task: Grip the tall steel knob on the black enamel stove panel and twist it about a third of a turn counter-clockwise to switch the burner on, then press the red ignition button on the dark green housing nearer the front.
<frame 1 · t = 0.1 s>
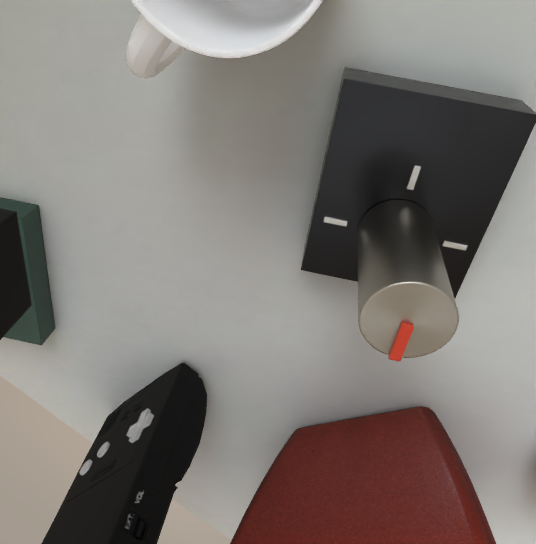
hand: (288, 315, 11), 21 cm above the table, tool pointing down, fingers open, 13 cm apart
handheld gaming console: (160, 396, 45), on the table
flower pot: (378, 458, 46), on the table
stove panel: (400, 182, 31), on the table
stove knob: (400, 273, 26), point 7 cm above the table, hinge at 0.0°
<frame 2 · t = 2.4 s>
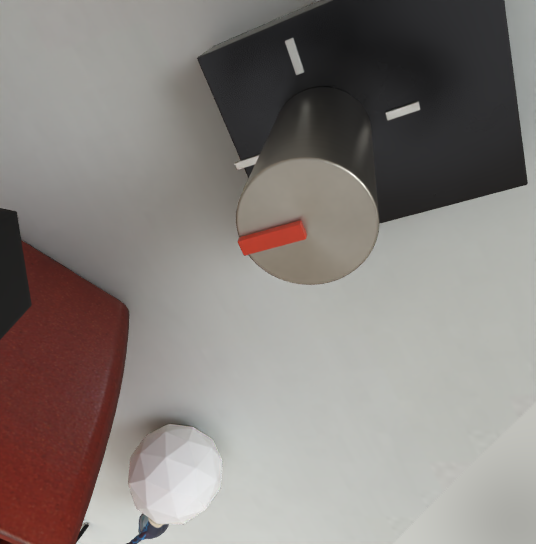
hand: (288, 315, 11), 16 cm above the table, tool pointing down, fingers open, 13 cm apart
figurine: (185, 449, 42), on the table
flower pot: (21, 309, 35), on the table
stove panel: (364, 104, 24), on the table
stove knob: (315, 175, 18), point 7 cm above the table, hinge at 0.0°
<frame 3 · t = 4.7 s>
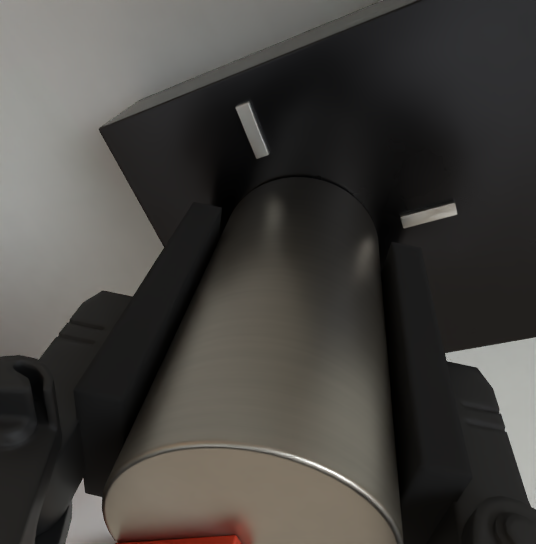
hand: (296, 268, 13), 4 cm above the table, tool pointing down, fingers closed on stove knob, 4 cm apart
stove panel: (366, 185, 16), on the table
stove knob: (281, 351, 10), point 7 cm above the table, hinge at -0.1°, touching gripper
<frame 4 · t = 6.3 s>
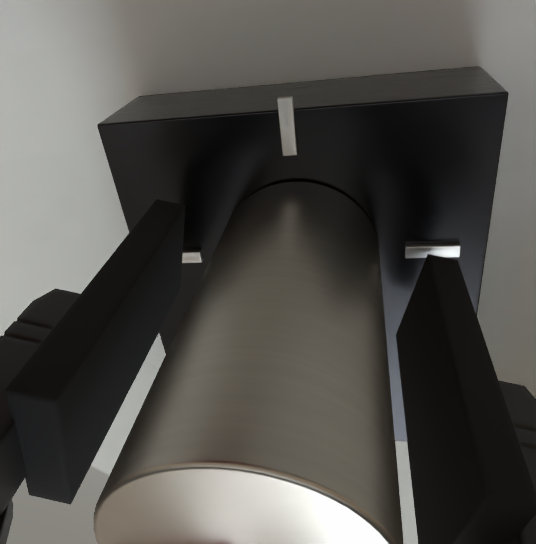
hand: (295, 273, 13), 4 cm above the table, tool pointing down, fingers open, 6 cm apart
stove panel: (311, 257, 17), on the table
stove knob: (280, 360, 10), point 7 cm above the table, hinge at 105.7°
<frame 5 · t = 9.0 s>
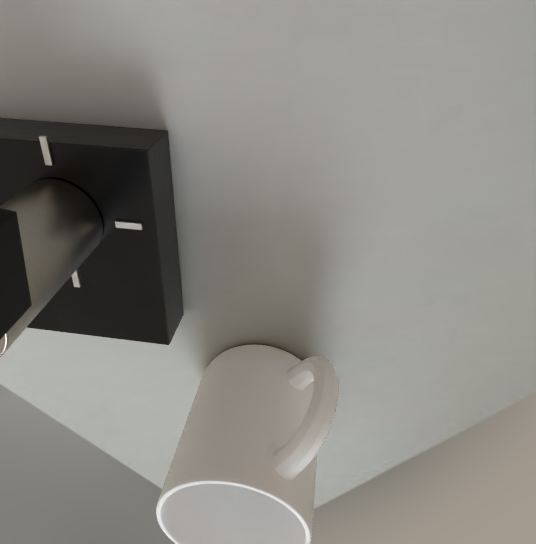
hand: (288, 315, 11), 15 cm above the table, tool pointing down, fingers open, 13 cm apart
mug: (279, 368, 33), on the table
stove panel: (94, 225, 29), on the table
stove knob: (13, 263, 22), point 7 cm above the table, hinge at 105.7°
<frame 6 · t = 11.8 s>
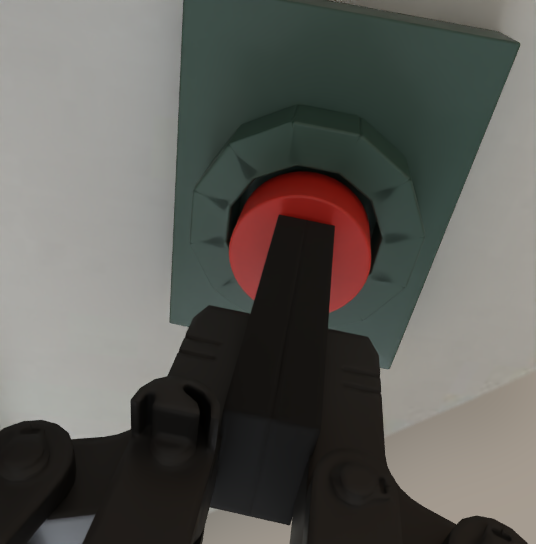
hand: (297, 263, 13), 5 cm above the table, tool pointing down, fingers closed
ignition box: (311, 187, 18), on the table
ignition button: (301, 246, 14), point 4 cm above the table, slide at -0.1 cm, touching gripper
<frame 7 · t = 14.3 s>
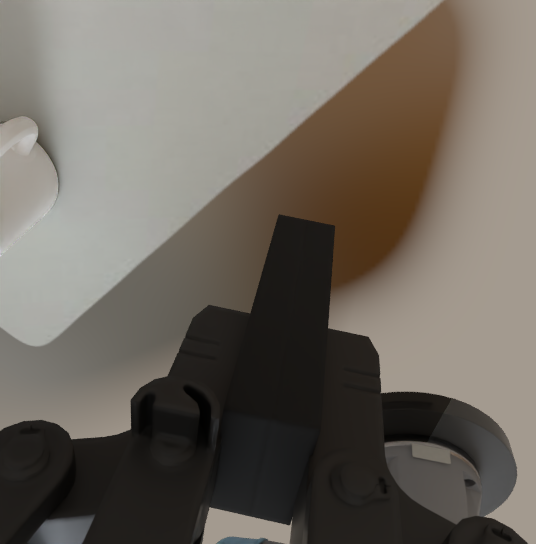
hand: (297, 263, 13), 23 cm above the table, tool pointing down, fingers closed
mug: (24, 154, 39), on the table
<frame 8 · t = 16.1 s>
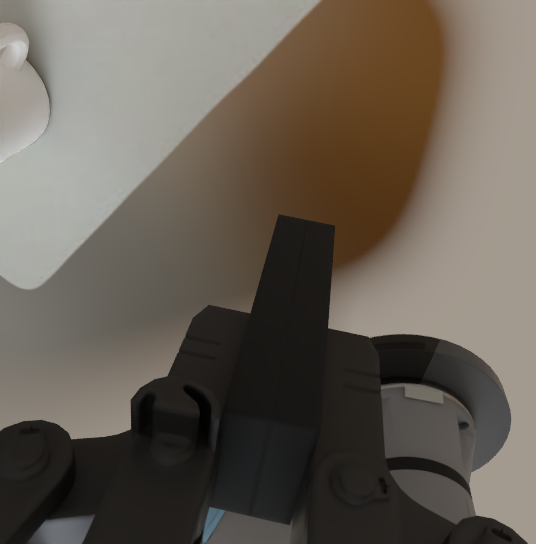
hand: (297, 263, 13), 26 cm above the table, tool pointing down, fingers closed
mug: (16, 77, 39), on the table
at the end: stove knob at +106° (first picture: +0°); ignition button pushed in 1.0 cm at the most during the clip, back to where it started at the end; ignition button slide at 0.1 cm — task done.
